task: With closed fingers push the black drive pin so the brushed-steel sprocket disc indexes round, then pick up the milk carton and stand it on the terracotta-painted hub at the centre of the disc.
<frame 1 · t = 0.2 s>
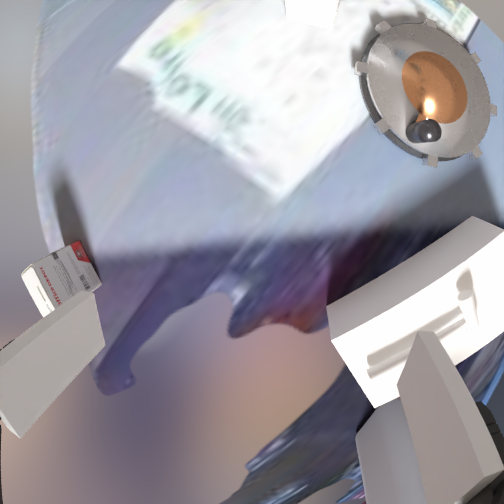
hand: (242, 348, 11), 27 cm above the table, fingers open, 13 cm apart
sprocket base: (427, 90, 28), on the table
plastic bottle: (397, 421, 44), on the table
ink box: (84, 266, 44), on the table
milk: (314, 9, 27), on the table
tissue box: (420, 299, 37), on the table
sprocket: (442, 83, 24), point 4 cm above the table, hinge at -25.0°
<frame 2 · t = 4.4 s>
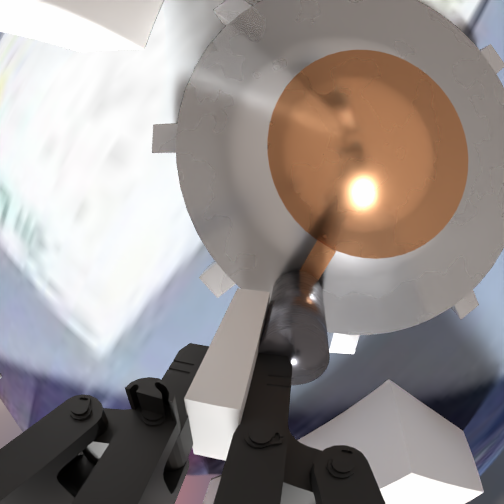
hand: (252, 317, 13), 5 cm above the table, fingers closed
milk: (125, 15, 13), on the table
tissue box: (330, 468, 23), on the table
sprocket: (388, 151, 10), point 5 cm above the table, hinge at -23.9°, touching gripper
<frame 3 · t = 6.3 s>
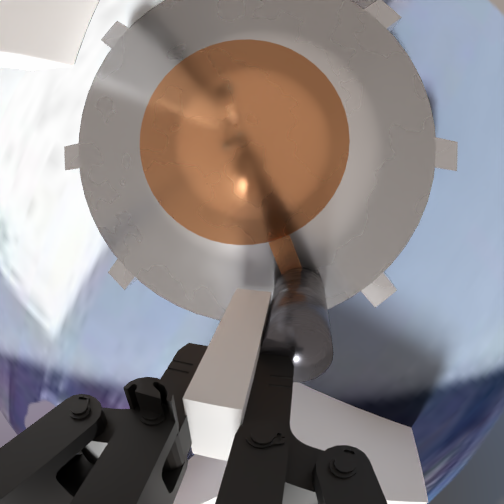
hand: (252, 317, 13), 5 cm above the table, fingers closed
milk: (63, 35, 14), on the table
tissue box: (271, 464, 24), on the table
sprocket: (228, 135, 10), point 5 cm above the table, hinge at 25.3°, touching gripper
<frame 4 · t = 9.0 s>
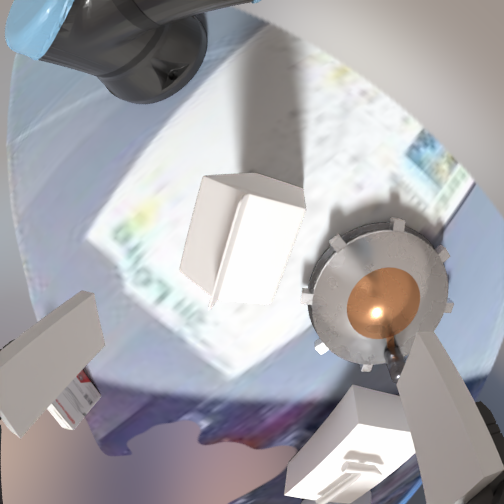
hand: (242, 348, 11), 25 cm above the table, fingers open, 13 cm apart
sprocket base: (379, 295, 35), on the table
plastic bottle: (335, 495, 50), on the table
ink box: (85, 381, 50), on the table
milk: (271, 203, 34), on the table
tissue box: (350, 436, 43), on the table
sprocket: (388, 311, 31), point 5 cm above the table, hinge at 23.7°
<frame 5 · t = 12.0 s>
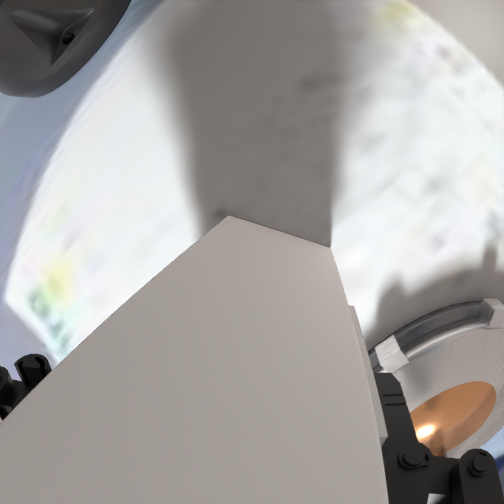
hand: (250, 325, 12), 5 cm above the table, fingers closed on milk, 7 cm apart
sprocket base: (435, 402, 18), on the table
milk: (264, 277, 17), on the table, touching gripper
sprocket: (450, 441, 14), point 5 cm above the table, hinge at 23.7°
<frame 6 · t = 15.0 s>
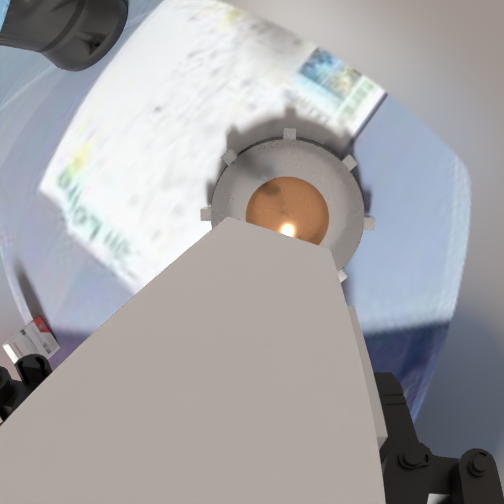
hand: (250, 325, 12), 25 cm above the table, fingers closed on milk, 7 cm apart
sprocket base: (288, 213, 36), on the table
ink box: (46, 333, 52), on the table
milk: (264, 278, 17), point 20 cm above the table, touching gripper
sprocket: (286, 221, 32), point 5 cm above the table, hinge at 23.7°
when the fingers open (9 cm above the table, at t = 18.4 s): milk drops 1 cm, resting on sprocket.
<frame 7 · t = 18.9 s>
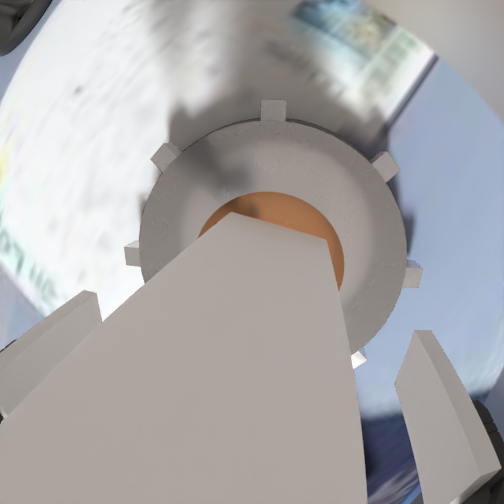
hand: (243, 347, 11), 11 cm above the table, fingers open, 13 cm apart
sprocket base: (271, 254, 21), on the table
milk: (266, 268, 18), point 3 cm above the table, touching sprocket
sprocket: (264, 278, 17), point 4 cm above the table, hinge at 23.7°, touching milk
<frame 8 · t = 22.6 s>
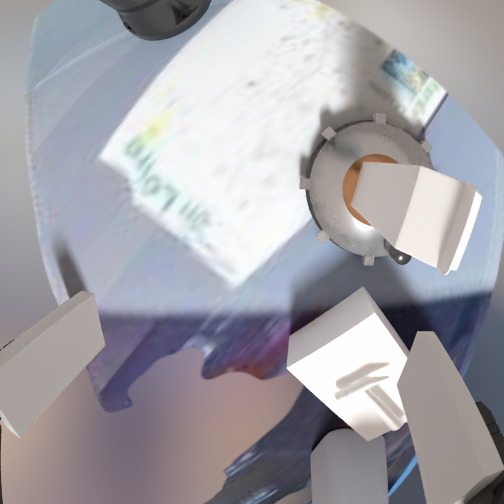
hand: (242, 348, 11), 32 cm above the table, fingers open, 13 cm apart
sprocket base: (372, 188, 37), on the table
plastic bottle: (346, 444, 54), on the table
milk: (377, 190, 35), point 3 cm above the table, touching sprocket
tissue box: (364, 357, 46), on the table
sprocket: (381, 192, 33), point 4 cm above the table, hinge at 23.7°, touching milk
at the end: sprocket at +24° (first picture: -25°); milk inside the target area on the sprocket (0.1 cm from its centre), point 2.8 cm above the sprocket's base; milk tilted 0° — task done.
